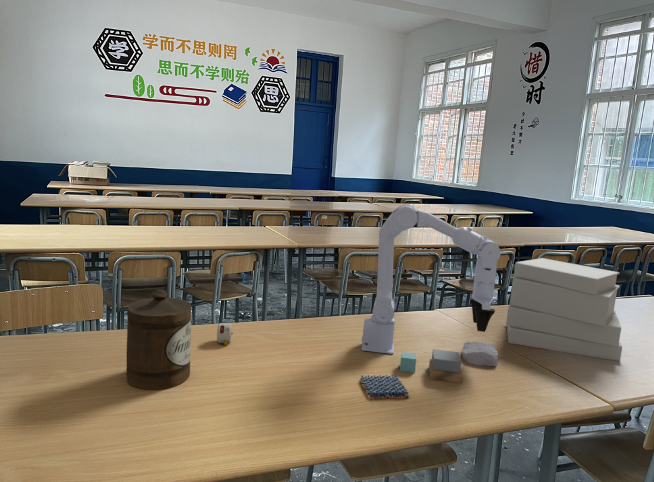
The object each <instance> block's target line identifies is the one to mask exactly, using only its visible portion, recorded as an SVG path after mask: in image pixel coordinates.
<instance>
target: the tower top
mask: <svg viewBox="0 0 654 482" xmlns="http://www.w3.org/2000/svg"><path fill="white" fill-rule="evenodd" d="M431 359H432V366H433V370H441V371H449V372H457V373H460V370H462V360H461V355H460V352H459V351H453V350H452V351H451V350H444V349H436V348H433V349H432V353H431Z"/></svg>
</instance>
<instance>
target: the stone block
mask: <svg viewBox="0 0 654 482" xmlns="http://www.w3.org/2000/svg"><path fill="white" fill-rule="evenodd" d="M461 353H462V358H463V360H464V361H466V363H468V364H471V363H472V365H475V366H476V365H478V366H487V367H494V366H495V368H496V367H497V365H498V360H499V358H498V357H499V354H498V351H497V349H496V345H495V344H494V343H493V344H491V343H487V342H483V341H477V340H476V341H475V340H474V341H473V340H472V341H468V342H467V341H466V342H463V346H462V348H461Z"/></svg>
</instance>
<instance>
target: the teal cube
mask: <svg viewBox="0 0 654 482" xmlns="http://www.w3.org/2000/svg"><path fill="white" fill-rule="evenodd" d="M399 362H400V364H399V371H400V372H403V373H404V372H405V373H413V374H415V373H416V366H417V364H416V363H417V353H412V352H404V351H401V353H400V361H399Z"/></svg>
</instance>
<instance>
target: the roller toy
mask: <svg viewBox="0 0 654 482" xmlns="http://www.w3.org/2000/svg"><path fill="white" fill-rule="evenodd" d="M232 327H233V326H232V324H231V323H224V322H223V323H221V322H220V323H218V325H217V330H216V331H217V332H216V342H217V343H218V344H224V346H228V344H230V343H232V335H234V332H233V328H232Z"/></svg>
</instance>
